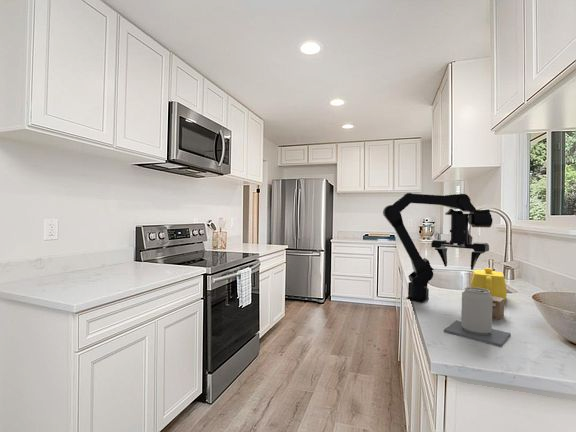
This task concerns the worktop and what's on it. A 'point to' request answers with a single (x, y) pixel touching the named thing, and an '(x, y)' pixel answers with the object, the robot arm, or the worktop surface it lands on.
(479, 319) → the can
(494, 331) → the mat
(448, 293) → the worktop surface
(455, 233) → the robot arm
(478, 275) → the teapot
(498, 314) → the marked block
